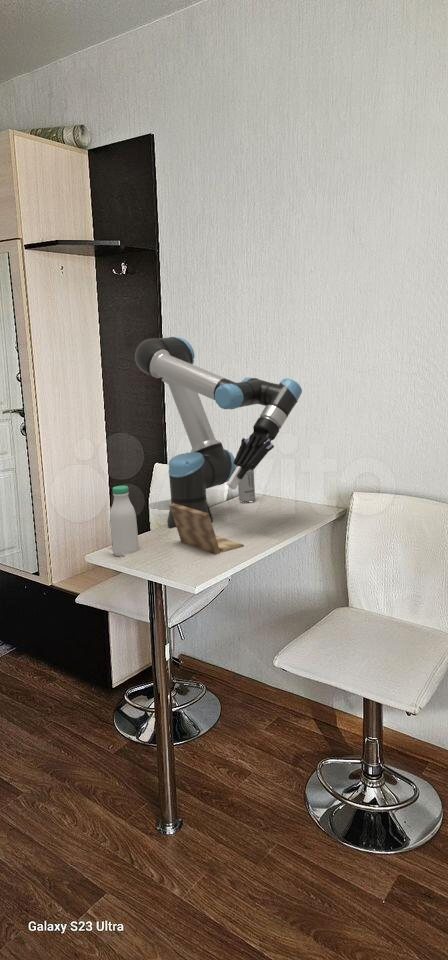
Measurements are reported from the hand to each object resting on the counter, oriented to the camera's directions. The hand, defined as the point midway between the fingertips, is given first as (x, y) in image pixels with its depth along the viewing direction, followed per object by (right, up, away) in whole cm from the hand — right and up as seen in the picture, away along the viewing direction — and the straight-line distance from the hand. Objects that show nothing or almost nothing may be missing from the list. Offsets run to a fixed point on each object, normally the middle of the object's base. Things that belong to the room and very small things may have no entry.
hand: (230, 486), depth 207 cm
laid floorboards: (-5, -18, 0) cm, 18 cm away
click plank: (-9, -18, -3) cm, 20 cm away
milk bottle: (-31, -20, -1) cm, 37 cm away
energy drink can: (+7, -6, +54) cm, 55 cm away
